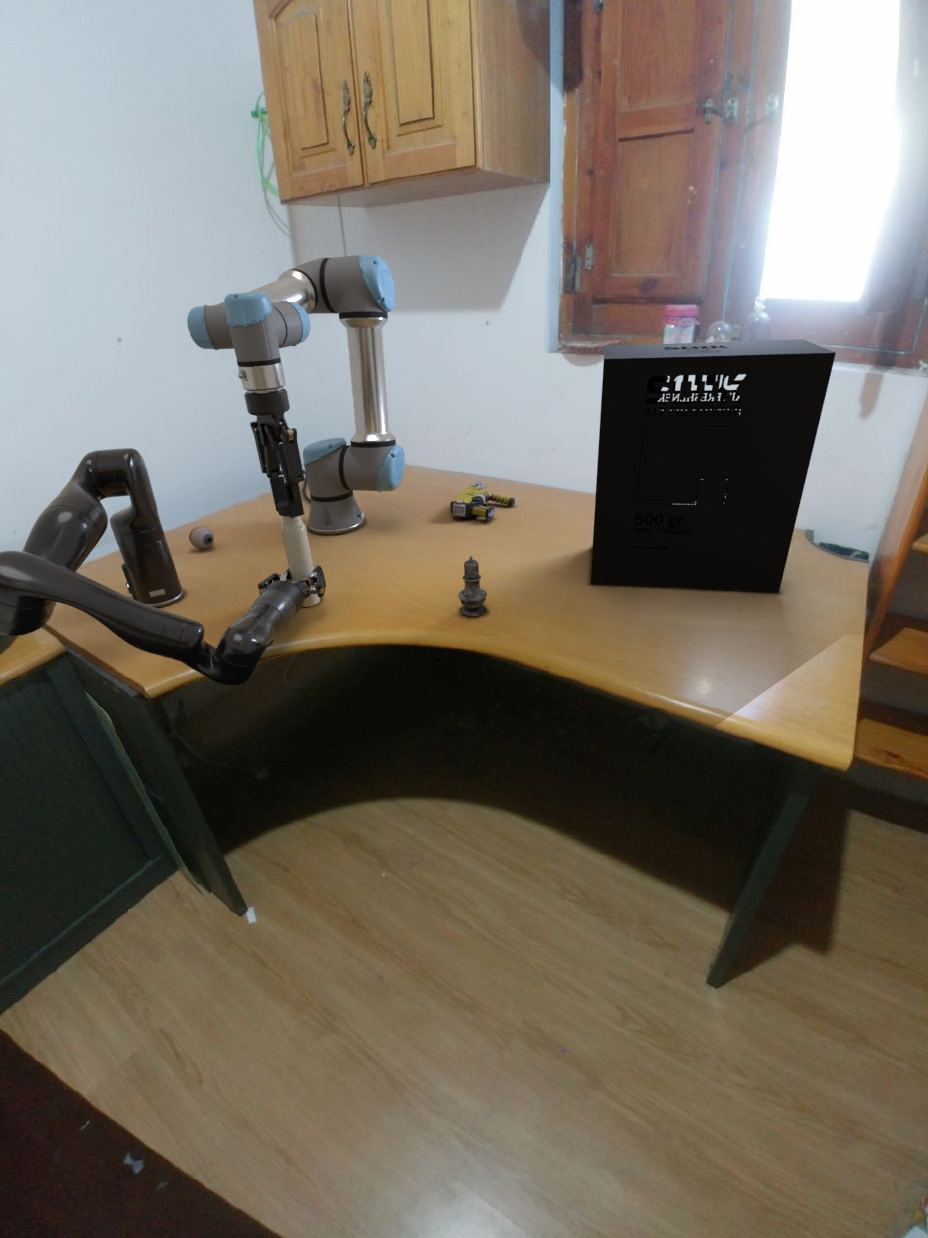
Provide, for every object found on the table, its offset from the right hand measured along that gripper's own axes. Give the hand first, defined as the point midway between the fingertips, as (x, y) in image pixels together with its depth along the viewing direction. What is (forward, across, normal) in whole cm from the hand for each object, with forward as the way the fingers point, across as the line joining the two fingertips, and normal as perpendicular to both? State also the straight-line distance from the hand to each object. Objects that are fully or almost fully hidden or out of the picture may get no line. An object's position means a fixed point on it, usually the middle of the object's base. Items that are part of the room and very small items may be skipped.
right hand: (290, 512), depth 120 cm
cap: (-2, 0, 0) cm, 2 cm away
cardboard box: (+20, +51, +64) cm, 84 cm away
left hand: (+14, -2, +2) cm, 14 cm away
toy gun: (+20, -11, +66) cm, 70 cm away
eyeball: (+20, -48, -3) cm, 52 cm away
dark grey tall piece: (+20, +30, +21) cm, 42 cm away
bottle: (+20, 0, 0) cm, 20 cm away
